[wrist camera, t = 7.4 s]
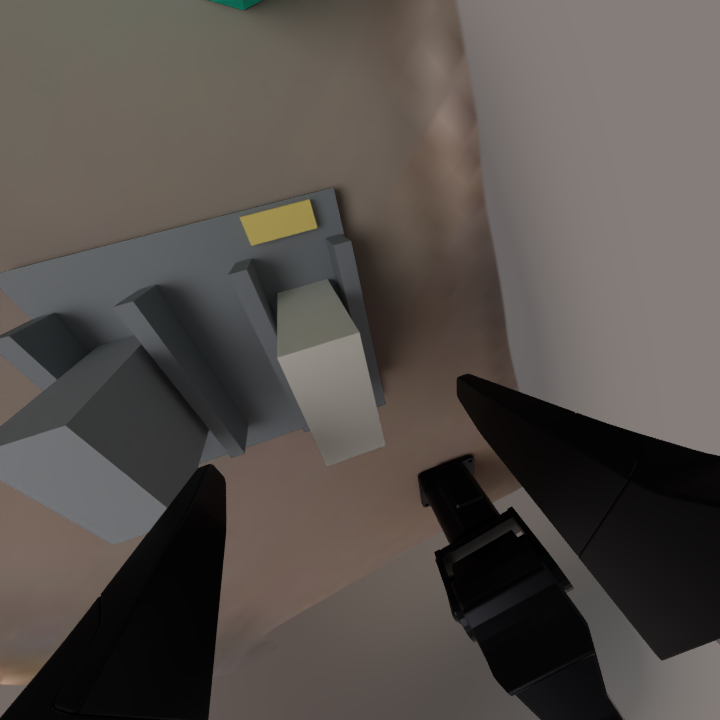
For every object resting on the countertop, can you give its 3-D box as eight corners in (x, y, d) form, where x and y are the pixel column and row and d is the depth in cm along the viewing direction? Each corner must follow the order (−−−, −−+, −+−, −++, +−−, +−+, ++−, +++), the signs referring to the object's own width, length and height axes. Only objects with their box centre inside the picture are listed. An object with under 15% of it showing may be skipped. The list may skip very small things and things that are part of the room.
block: (350, 365, 18) (385, 445, 12) (310, 378, 18) (326, 466, 12) (327, 279, 15) (359, 332, 9) (277, 293, 14) (276, 357, 8)
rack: (377, 392, 21) (422, 481, 15) (187, 458, 20) (140, 590, 13) (330, 188, 13) (380, 178, 7) (7, 270, 12) (-336, 363, 5)
